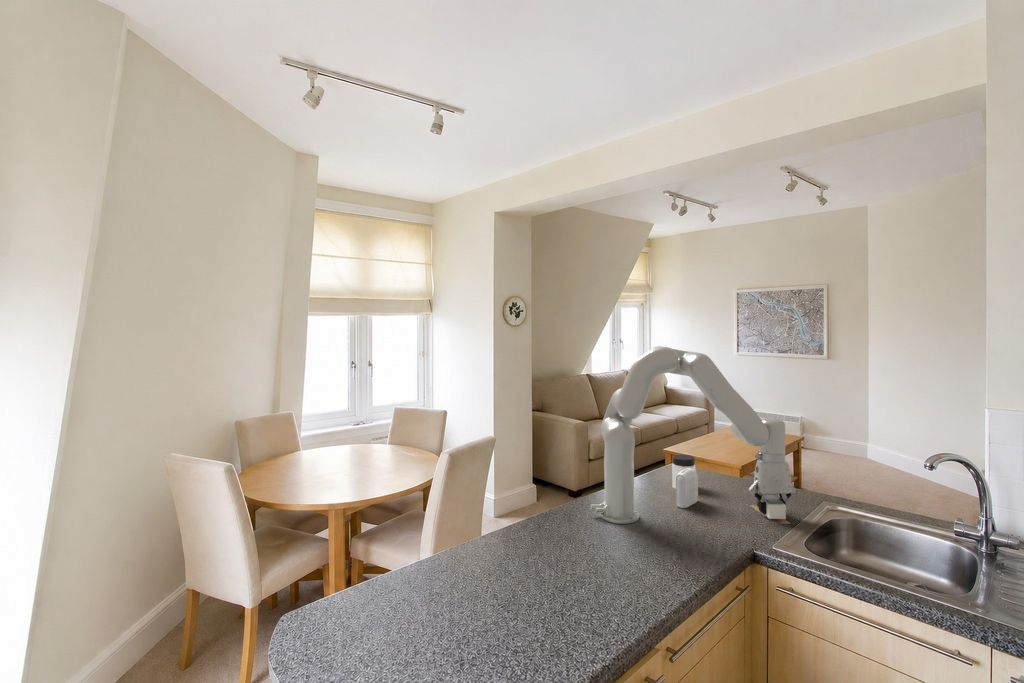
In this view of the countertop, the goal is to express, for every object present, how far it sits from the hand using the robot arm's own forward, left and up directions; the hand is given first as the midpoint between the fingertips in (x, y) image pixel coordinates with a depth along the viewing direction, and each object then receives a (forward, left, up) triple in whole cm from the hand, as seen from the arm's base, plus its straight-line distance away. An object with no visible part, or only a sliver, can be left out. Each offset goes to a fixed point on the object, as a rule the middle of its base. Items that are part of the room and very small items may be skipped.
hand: (772, 512), depth 157 cm
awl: (0, +9, -1) cm, 9 cm away
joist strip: (0, +2, -2) cm, 3 cm away
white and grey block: (0, 0, -1) cm, 1 cm away
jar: (-18, +30, -2) cm, 35 cm away
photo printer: (-23, +13, -2) cm, 26 cm away
